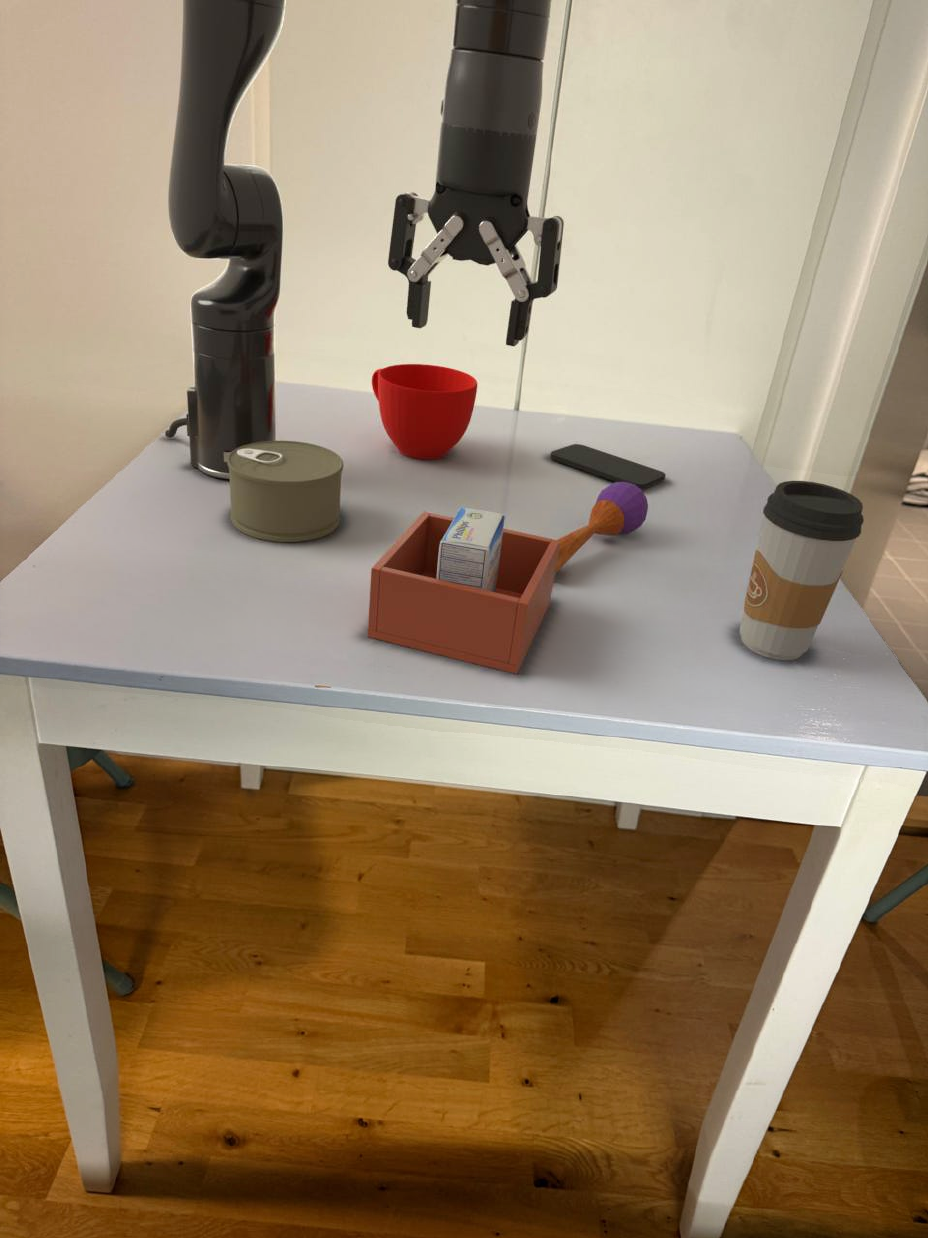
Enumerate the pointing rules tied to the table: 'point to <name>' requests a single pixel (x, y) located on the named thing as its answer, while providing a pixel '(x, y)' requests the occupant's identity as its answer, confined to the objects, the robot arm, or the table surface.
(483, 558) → the medicine box
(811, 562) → the coffee cup
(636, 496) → the purple and orange maraca
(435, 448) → the ceramic cup
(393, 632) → the bin
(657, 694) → the table surface
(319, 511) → the can
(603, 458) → the phone
